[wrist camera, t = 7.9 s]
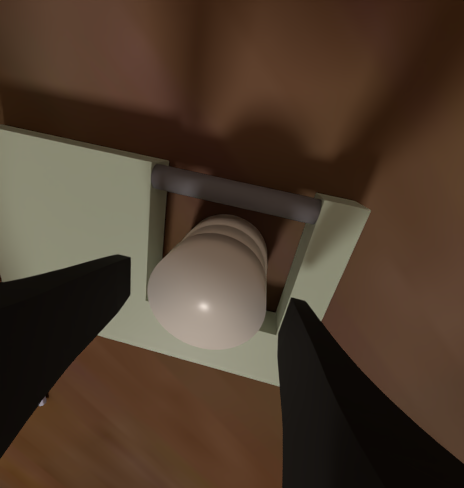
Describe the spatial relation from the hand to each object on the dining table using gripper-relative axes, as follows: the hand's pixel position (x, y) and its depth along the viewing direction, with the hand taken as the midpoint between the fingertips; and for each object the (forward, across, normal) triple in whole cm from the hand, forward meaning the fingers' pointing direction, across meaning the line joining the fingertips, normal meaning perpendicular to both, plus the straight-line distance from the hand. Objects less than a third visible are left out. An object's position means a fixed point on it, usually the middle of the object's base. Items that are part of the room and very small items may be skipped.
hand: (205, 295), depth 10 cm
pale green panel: (+4, +4, +1) cm, 6 cm away
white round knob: (+4, 0, 0) cm, 4 cm away
